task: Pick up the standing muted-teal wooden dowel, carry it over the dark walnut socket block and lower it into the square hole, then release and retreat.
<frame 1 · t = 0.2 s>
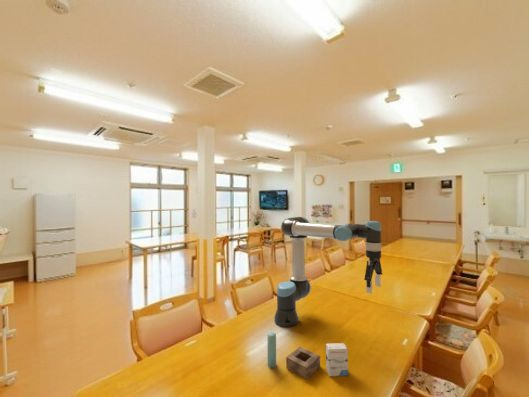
hand: (373, 289, 137), 28 cm above the table, fingers open, 13 cm apart
peg: (271, 364, 118), on the table
socket block: (303, 367, 116), on the table
ink box: (336, 372, 113), on the table
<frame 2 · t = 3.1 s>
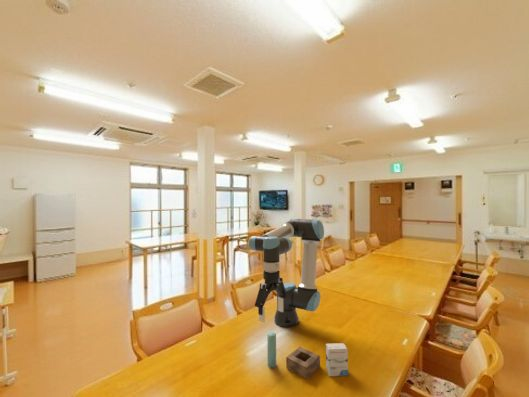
hand: (271, 316, 118), 23 cm above the table, fingers open, 13 cm apart
nothing on the table moved.
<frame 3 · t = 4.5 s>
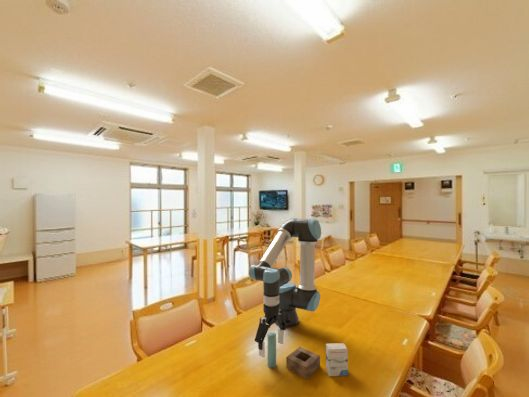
hand: (271, 349, 118), 7 cm above the table, fingers open, 13 cm apart
nothing on the table moved.
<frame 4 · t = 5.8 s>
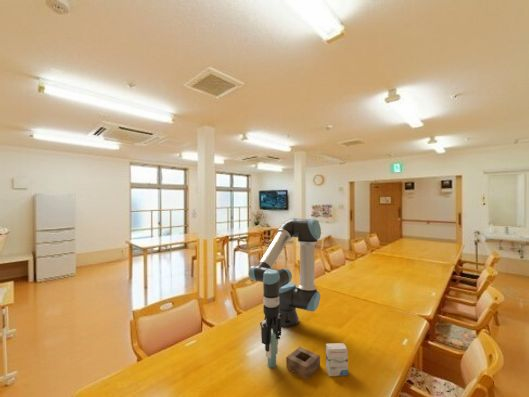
hand: (271, 354, 118), 5 cm above the table, fingers closed on peg, 4 cm apart
peg: (271, 364, 118), on the table, touching gripper
everything else where it was.
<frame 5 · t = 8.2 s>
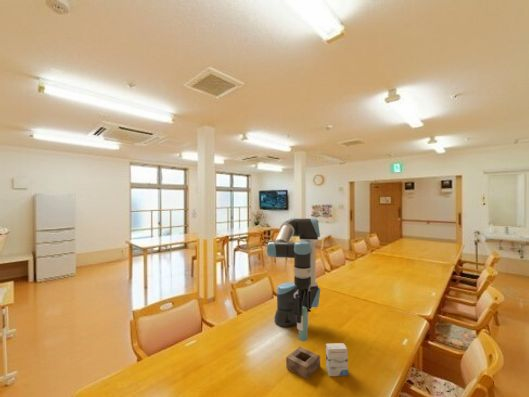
hand: (302, 327, 116), 18 cm above the table, fingers closed on peg, 4 cm apart
peg: (303, 338, 116), point 13 cm above the table, touching gripper
everything else where it was.
when the fingers open (6 cm above the table, at t = 10.5 s): peg stays where it is, resting in socket block.
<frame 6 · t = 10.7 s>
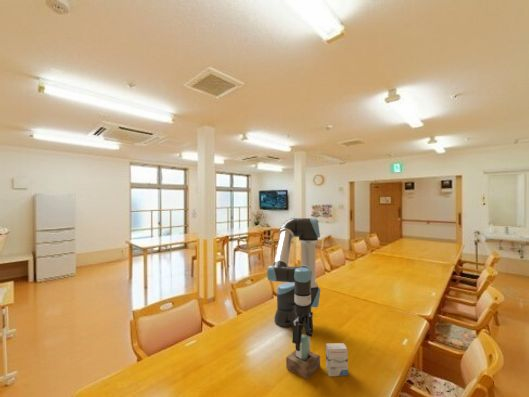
hand: (303, 353, 116), 6 cm above the table, fingers open, 6 cm apart
peg: (303, 367, 116), resting in socket block
everything else where it was.
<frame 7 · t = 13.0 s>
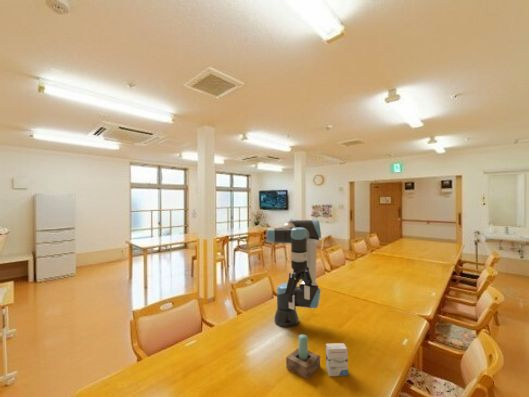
hand: (299, 303, 123), 26 cm above the table, fingers open, 13 cm apart
nothing on the table moved.
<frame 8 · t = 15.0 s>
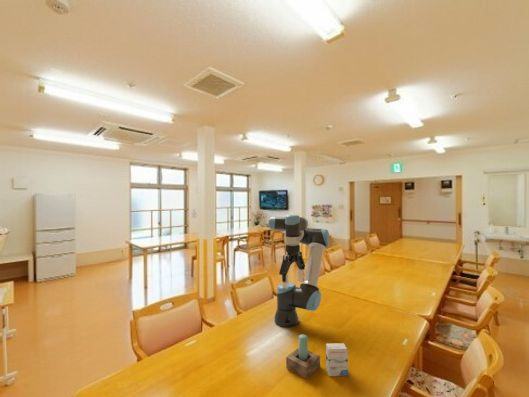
hand: (292, 284, 135), 32 cm above the table, fingers open, 13 cm apart
nothing on the table moved.
at the end: peg 0.0 cm off-centre on the socket block, point 0.0 cm above the socket block's base; peg tilted 0°; the gripper is holding nothing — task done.
